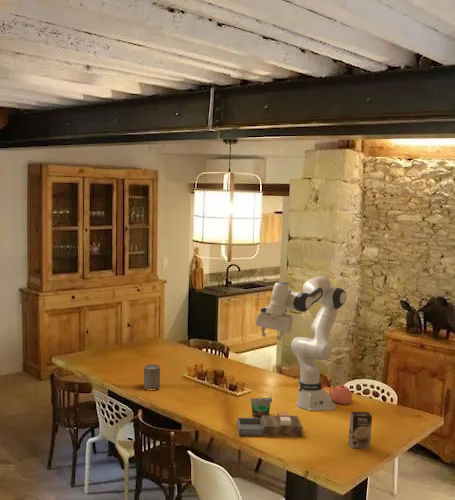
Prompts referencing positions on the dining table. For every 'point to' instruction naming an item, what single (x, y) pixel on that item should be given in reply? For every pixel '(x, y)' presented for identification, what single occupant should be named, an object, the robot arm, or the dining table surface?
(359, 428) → the coffee box
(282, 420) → the cream block
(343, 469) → the dining table surface
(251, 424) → the bin
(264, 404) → the food container
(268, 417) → the block
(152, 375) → the smart speaker
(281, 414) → the terracotta tile
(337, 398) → the sugar bowl
